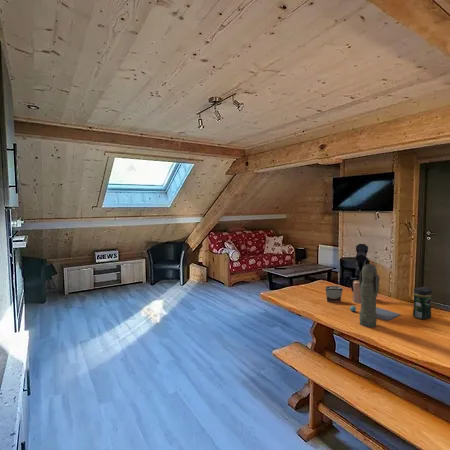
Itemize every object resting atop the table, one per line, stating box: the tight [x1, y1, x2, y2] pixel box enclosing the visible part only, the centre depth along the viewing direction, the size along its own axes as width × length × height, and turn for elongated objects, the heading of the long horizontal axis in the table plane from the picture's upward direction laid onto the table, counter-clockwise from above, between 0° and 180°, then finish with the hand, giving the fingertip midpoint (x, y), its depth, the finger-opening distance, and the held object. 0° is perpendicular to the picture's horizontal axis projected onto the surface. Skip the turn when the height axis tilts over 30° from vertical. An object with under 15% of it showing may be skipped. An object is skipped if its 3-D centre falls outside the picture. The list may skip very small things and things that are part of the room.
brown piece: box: [352, 280, 361, 305], centre depth 193 cm, size 7×7×13 cm
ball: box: [349, 305, 357, 312], centre depth 195 cm, size 4×4×4 cm
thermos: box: [359, 263, 380, 328], centre depth 173 cm, size 9×12×35 cm
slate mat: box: [376, 306, 401, 322], centre depth 190 cm, size 16×16×1 cm
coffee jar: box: [412, 286, 433, 320], centre depth 184 cm, size 10×8×19 cm
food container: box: [324, 285, 344, 303], centre depth 216 cm, size 12×6×10 cm, turn 84°
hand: (359, 292), depth 192 cm, fingers closed on brown piece, 8 cm apart
